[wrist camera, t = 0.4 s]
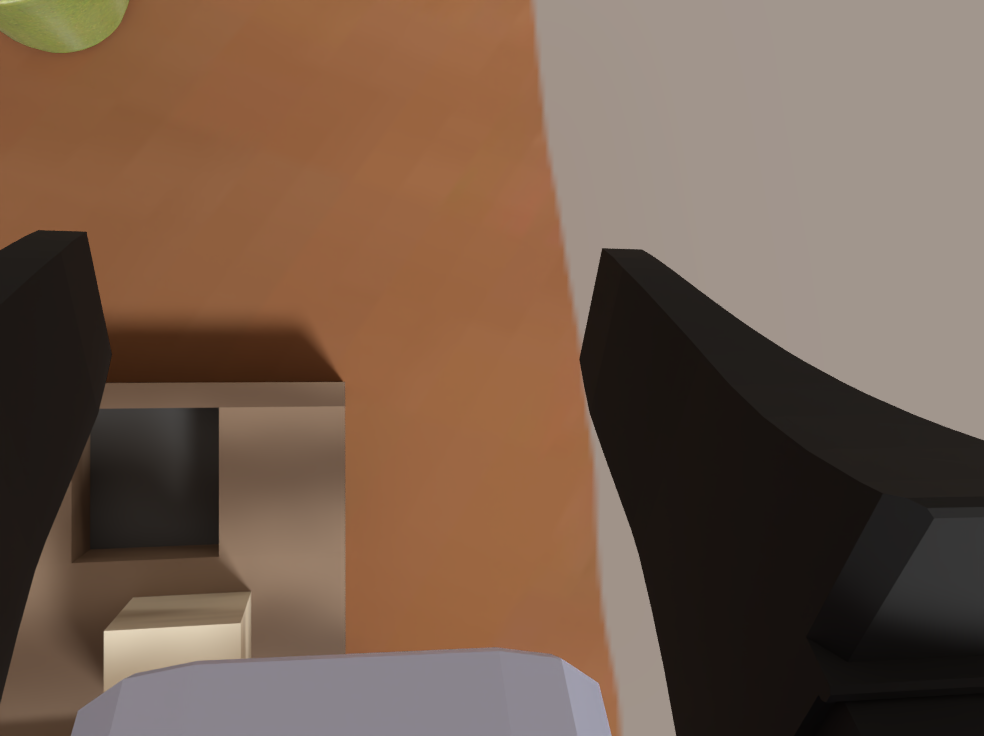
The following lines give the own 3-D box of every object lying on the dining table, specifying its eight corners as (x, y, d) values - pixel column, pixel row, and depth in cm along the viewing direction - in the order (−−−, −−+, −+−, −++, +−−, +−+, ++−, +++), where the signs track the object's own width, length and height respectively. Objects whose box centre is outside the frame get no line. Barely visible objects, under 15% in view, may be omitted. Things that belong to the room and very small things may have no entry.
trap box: (343, 717, 38) (346, 767, 33) (-221, 763, 33) (-314, 829, 28) (343, 381, 38) (346, 382, 33) (-219, 384, 34) (-311, 385, 29)
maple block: (251, 703, 34) (240, 751, 30) (132, 712, 33) (103, 763, 29) (251, 591, 34) (240, 623, 30) (132, 597, 33) (103, 631, 29)
